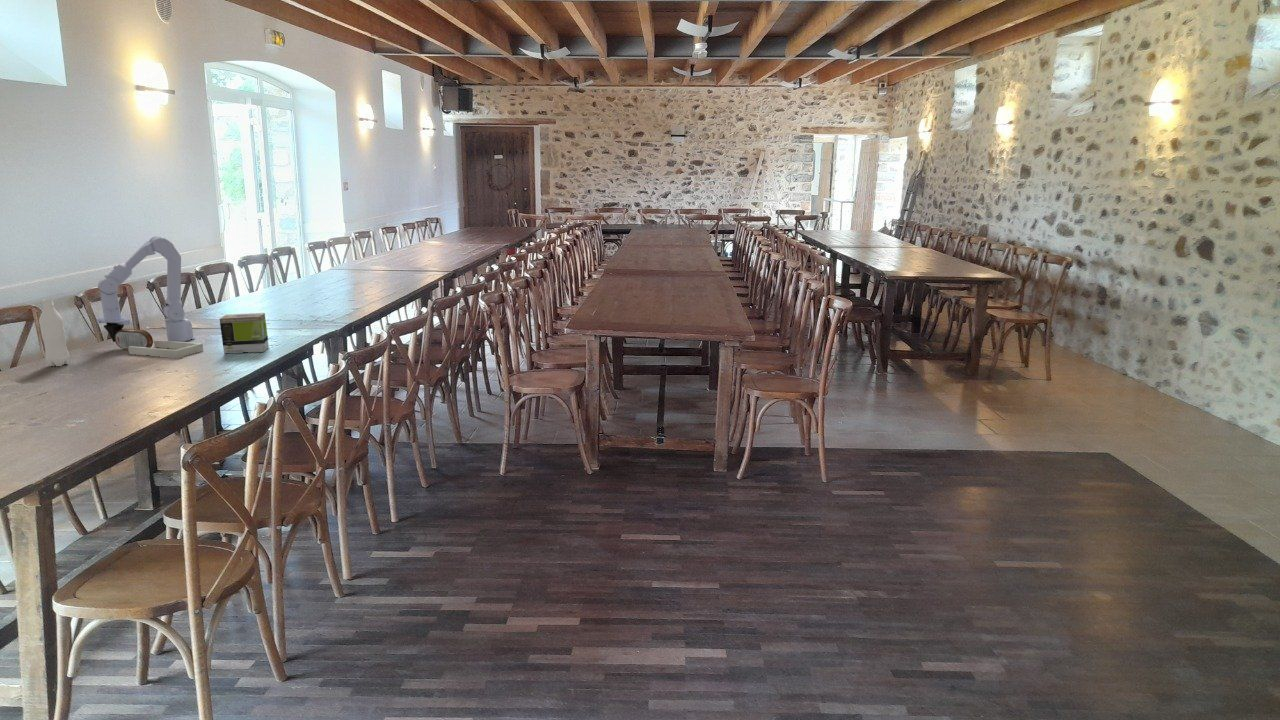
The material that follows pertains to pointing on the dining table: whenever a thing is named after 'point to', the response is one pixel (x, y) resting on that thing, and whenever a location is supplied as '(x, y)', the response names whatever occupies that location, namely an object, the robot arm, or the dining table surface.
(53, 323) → the water bottle
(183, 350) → the box
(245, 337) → the tea box
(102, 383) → the dining table surface
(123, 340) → the tin
